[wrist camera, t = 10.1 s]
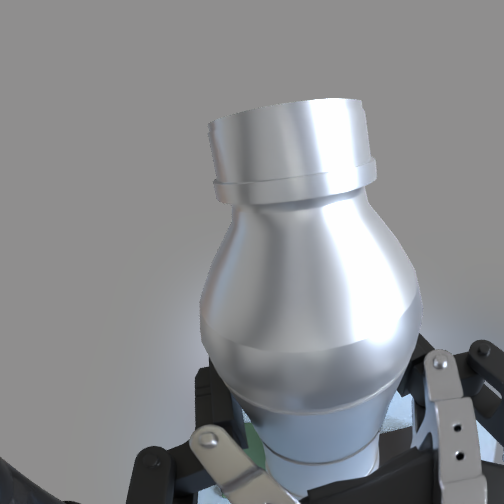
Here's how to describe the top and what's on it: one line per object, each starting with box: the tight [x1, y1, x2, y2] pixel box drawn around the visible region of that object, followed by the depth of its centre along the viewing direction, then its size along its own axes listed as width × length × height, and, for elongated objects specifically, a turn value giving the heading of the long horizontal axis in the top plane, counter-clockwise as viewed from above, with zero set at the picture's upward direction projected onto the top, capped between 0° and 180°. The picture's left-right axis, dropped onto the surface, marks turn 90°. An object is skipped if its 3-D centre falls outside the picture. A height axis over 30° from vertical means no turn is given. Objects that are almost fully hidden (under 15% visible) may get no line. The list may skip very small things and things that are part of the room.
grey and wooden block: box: [378, 426, 413, 468], centre depth 21 cm, size 14×5×4 cm, turn 85°
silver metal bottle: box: [200, 99, 423, 501], centre depth 10 cm, size 6×7×20 cm
